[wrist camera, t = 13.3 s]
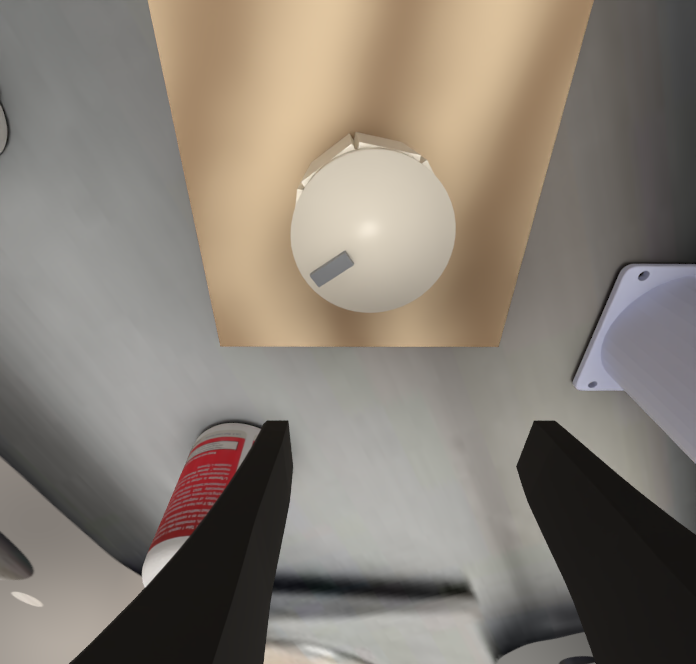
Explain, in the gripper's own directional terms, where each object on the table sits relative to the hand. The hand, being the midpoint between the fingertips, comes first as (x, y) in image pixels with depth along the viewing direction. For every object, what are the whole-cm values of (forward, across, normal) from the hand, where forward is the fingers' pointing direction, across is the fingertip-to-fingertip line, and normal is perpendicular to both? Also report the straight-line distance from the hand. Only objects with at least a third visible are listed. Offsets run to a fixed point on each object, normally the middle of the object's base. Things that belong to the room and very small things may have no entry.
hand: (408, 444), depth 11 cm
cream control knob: (+9, +1, -5) cm, 10 cm away
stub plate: (+10, +1, -5) cm, 11 cm away
